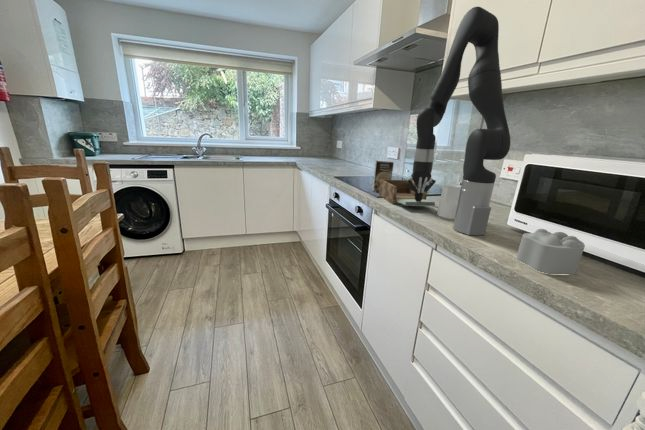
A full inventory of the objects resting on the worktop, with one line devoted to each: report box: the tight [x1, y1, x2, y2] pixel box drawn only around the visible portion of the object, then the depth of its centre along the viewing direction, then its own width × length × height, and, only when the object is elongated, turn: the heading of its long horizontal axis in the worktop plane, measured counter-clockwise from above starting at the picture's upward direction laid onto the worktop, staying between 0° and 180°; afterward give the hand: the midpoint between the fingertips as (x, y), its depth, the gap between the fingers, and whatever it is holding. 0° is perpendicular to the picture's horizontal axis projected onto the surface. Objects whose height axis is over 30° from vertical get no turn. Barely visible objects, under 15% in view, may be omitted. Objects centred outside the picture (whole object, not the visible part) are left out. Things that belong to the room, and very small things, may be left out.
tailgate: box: [397, 199, 436, 206], centre depth 120 cm, size 1×13×9 cm
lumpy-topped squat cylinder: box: [515, 228, 586, 275], centre depth 70 cm, size 10×13×9 cm
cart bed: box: [378, 179, 428, 205], centre depth 133 cm, size 18×16×8 cm
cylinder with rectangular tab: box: [436, 185, 461, 220], centre depth 109 cm, size 9×9×12 cm
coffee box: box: [371, 160, 394, 193], centre depth 149 cm, size 9×6×16 cm
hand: (417, 201), depth 118 cm, fingers closed
